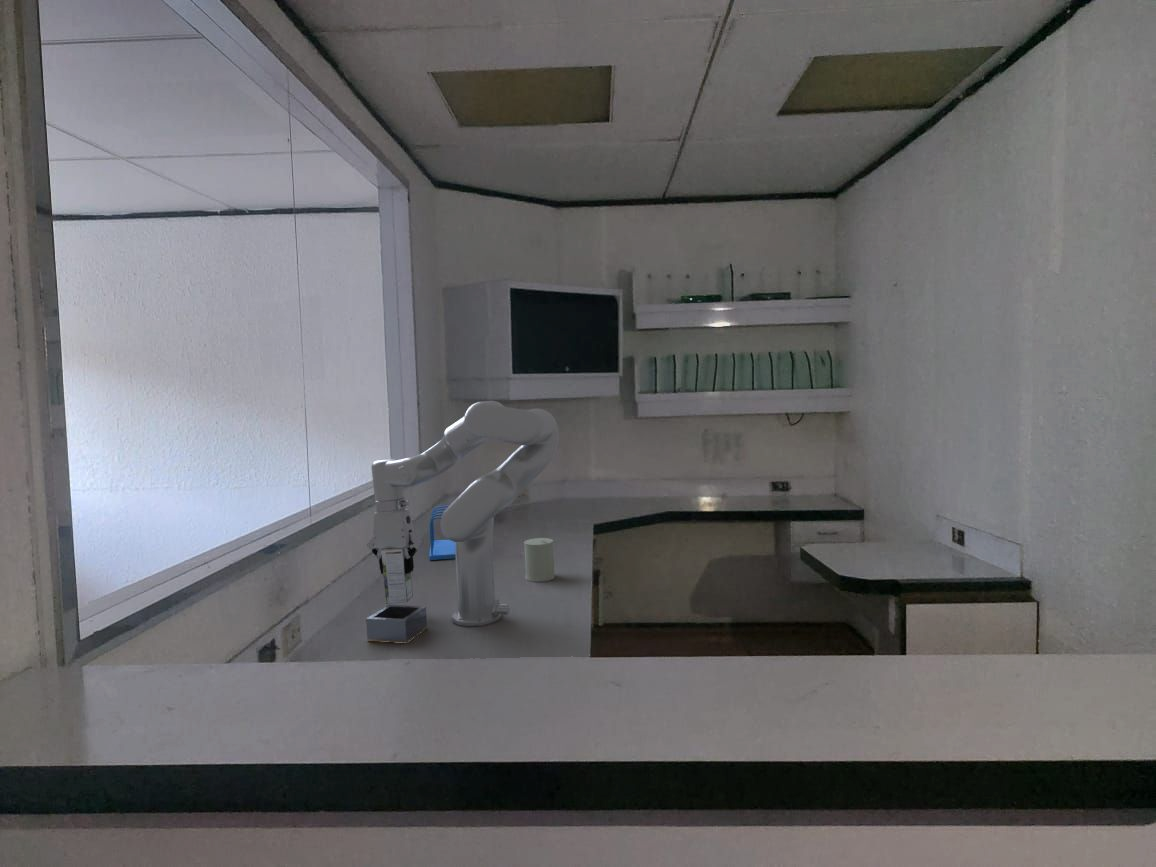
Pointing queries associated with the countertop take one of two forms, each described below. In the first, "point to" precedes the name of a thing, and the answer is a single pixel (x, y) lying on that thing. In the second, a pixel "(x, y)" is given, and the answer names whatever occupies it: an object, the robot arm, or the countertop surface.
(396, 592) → the syrup box
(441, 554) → the file sorter
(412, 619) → the shadow box frame
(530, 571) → the can
